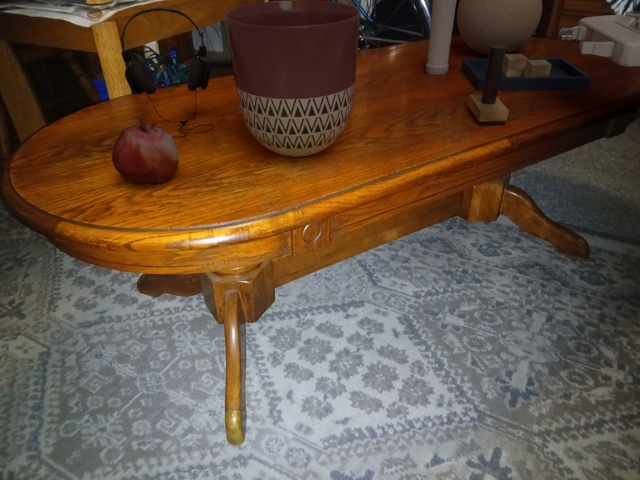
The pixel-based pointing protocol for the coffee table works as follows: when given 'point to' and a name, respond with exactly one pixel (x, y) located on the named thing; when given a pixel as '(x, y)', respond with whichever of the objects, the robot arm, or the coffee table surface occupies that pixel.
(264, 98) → the planter
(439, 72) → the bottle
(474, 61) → the tray
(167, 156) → the fruit
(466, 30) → the decorative sphere
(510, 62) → the crumb
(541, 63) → the beige cube
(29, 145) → the coffee table surface
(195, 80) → the headphones
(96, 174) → the coffee table surface
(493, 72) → the brush
